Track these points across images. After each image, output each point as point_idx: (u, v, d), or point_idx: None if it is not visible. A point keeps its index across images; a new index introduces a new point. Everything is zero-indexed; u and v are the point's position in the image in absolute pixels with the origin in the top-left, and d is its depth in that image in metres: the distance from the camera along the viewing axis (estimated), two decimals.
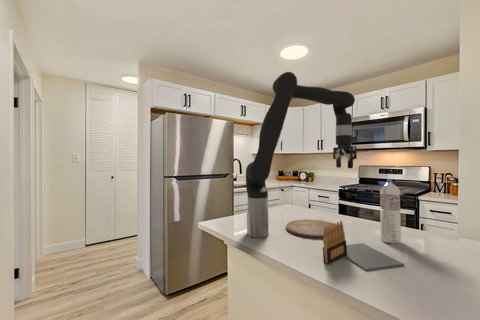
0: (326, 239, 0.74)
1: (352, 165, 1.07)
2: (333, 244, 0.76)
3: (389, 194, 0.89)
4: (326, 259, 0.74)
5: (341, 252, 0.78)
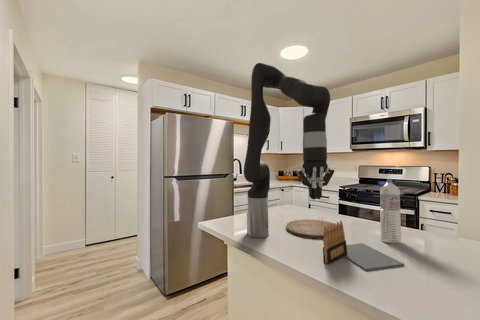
0: (326, 239, 0.74)
1: None
2: (333, 244, 0.76)
3: (389, 194, 0.89)
4: (326, 259, 0.74)
5: (341, 252, 0.78)
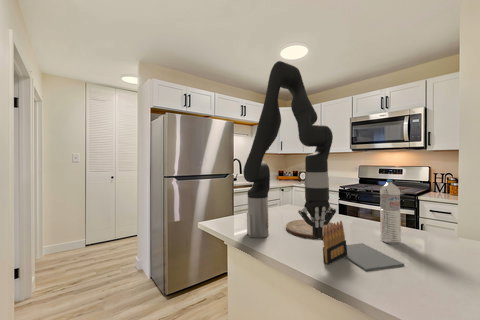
0: (326, 239, 0.74)
1: None
2: (333, 244, 0.76)
3: (389, 194, 0.89)
4: (326, 259, 0.74)
5: (341, 252, 0.78)
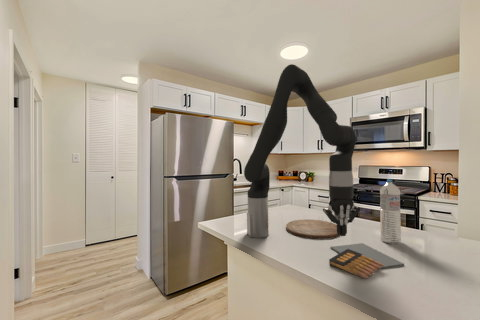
0: (354, 273, 0.67)
1: None
2: None
3: (389, 194, 0.89)
4: (333, 264, 0.72)
5: None
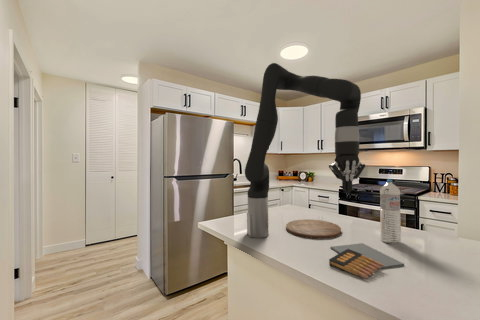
0: (354, 273, 0.67)
1: None
2: None
3: (389, 194, 0.89)
4: (333, 264, 0.72)
5: None
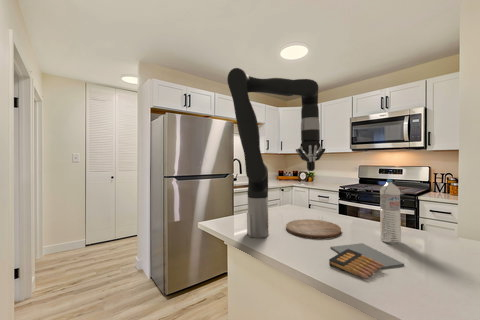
0: (354, 273, 0.67)
1: None
2: None
3: (389, 194, 0.89)
4: (333, 264, 0.72)
5: None
